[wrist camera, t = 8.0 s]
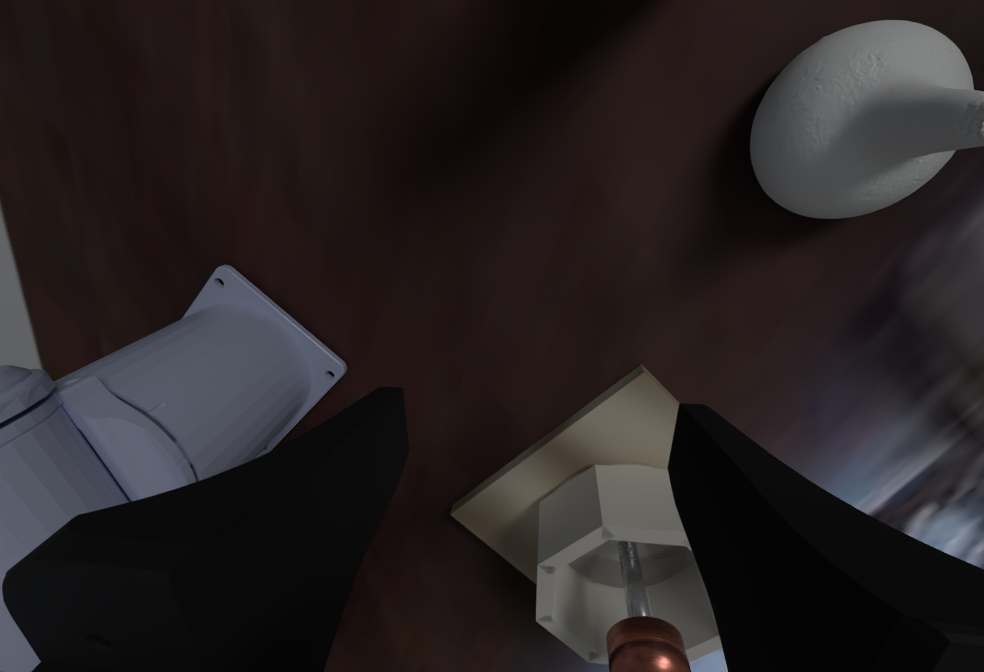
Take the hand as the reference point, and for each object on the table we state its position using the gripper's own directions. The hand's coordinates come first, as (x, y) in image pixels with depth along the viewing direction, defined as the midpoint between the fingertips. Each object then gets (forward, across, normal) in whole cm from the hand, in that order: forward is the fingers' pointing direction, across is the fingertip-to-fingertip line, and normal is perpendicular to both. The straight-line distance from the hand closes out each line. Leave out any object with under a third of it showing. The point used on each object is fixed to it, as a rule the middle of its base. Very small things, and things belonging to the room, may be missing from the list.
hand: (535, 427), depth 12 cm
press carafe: (+10, -5, +13) cm, 17 cm away
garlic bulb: (+11, -11, -7) cm, 17 cm away
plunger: (+9, -5, +13) cm, 17 cm away
